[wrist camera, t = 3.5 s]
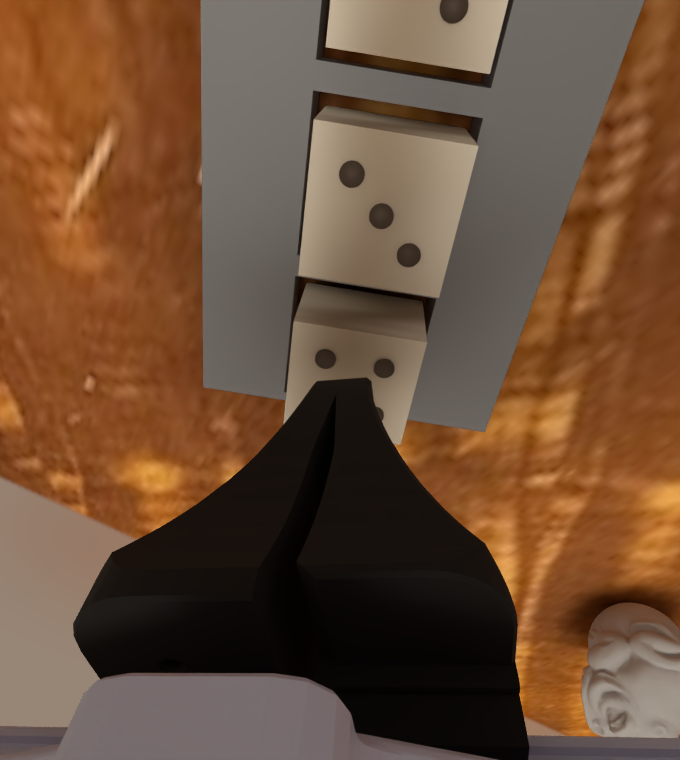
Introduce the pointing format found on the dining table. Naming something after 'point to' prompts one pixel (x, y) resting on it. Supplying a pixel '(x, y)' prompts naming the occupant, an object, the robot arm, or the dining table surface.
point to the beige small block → (383, 200)
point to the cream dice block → (420, 30)
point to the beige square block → (358, 348)
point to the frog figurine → (632, 673)
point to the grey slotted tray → (481, 205)
